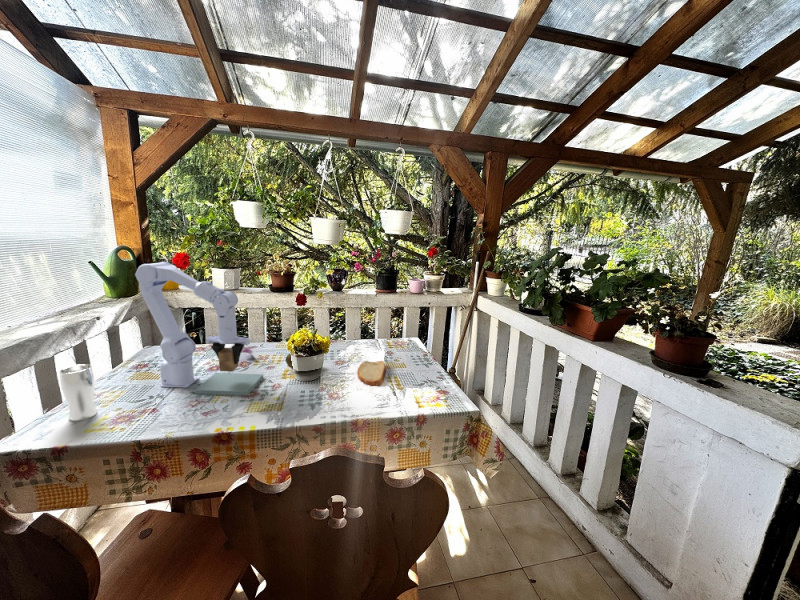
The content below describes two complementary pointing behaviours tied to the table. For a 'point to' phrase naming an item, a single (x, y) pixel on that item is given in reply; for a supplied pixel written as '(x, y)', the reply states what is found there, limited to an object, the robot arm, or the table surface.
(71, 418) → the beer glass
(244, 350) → the lily
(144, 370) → the table surface
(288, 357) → the potato
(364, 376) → the slice of bread
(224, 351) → the walnut block
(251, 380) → the slate board
